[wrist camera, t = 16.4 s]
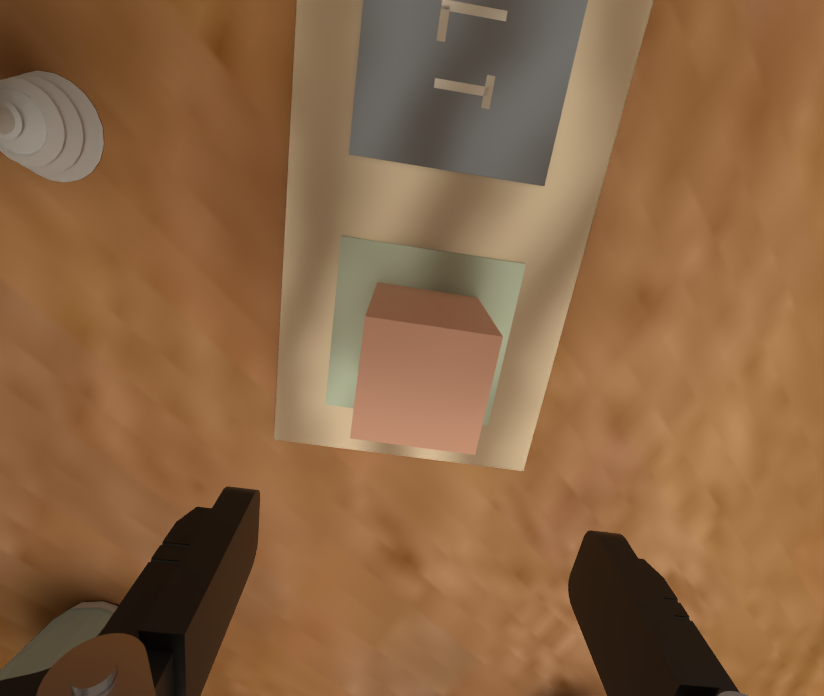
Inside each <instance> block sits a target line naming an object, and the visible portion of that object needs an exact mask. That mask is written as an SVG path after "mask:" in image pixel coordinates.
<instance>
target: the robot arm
mask: <svg viewBox="0 0 824 696" xmlns="http://www.w3.org/2000/svg"><path fill="white" fill-rule="evenodd" d="M259 508H260V492H259V490H253V489H244V488H236V487H225V488H224V490H223V491H222V493H221V494H220V496H219V498H218V499H217V501H216V503H215V504H214V506H213V507H212V508H203V507H196V508H195V509H193V510H192V511H191V512H189V513H188V514H186V515H185V516H184V517H182V518H181V519H180V520H178V521H177V522H176V523H175V525H174V526H173V528H172V529H171V530H170V532H169V533H168V535H167V536H166V538H165V539H164V541H163V544H162V546H161V545H160V546H159V548H158V549H157V551H156V552H155V554H154V555H153V557H152V559H151V562H148V564H147V565H146V567H145V568H144V570H143V571H142V573H141V574H140V576H139V577H138V578H137V580H136V581H135V583H134V584H133V586H132V587H131V589H130V590H129V592H128V593H127V594H126V596H125V597H124V599H123V600H122V602H121V603H120V605H119V606H118V608H117V609H116V611H115V612H114V613H113V615H112V616H111V618H110V619H109V621H108V622H107V624H106V625H105V627H104V628H103V629H102V630H101V632H100V633H99V634H98V635H97V636H96V637H95V638H92V639H89V640H87V641H85V642H83V643H81V644H79V645H78V646H76V647H74V648H73V649H71V650H70V651H69V652H67V653H66V654H65V655H63V656H62V657H61V658H60V659H59V660H58V661H57V662H56V663H55V664H54V665H53V666H52V667H51V668H48V669H45V670H43V671H39V672H36V673H32V674H27V675H23V676H18V677H13V678H9V679H4V680H0V696H200V695H201V693H202V690H203V688H204V685H205V683H206V680H207V678H208V675H209V673H210V670H211V668H212V665H213V663H214V661H215V658H216V656H217V653H218V651H219V648H220V646H221V643H222V641H223V638H224V636H225V633H226V631H227V628H228V626H229V623H230V621H231V618H232V616H233V614H234V611H235V609H236V606H237V604H238V601H239V599H240V596H241V594H242V591H243V589H244V586H245V584H246V581H247V579H248V576H249V574H250V571H251V569H252V566H253V563H254V559H255V555H256V550H257V544H258V528H259ZM568 591H569V599H570V603H571V606H572V609H573V611H574V614H575V616H576V619H577V621H578V624H579V626H580V629H581V631H582V634H583V636H584V639H585V641H586V644H587V646H588V649H589V651H590V654H591V656H592V659H593V661H594V664H595V666H596V669H597V671H598V674H599V676H600V679H601V681H602V684H603V686H604V689H605V691H606V694H607V696H748V695H745V694H743V693H740V692H739V691H738V689H737V688H736V686H735V685H734V683H733V682H732V680H731V679H730V677H729V676H728V674H727V673H726V671H725V670H724V668H723V667H722V665H721V664H720V662H719V661H718V659H717V658H716V656H715V654H714V653H713V651H712V650H711V648H710V647H709V645H708V644H707V642H706V641H705V639H704V638H703V636H702V635H701V633H700V632H699V630H698V629H697V627H696V626H695V624H694V623H693V621H690V620H689V615H688V614H687V612H686V611H685V609H684V608H683V606H682V605H681V603H678V601H677V597H676V596H675V594H674V593H673V591H672V590H671V588H670V587H669V585H668V584H667V582H666V581H665V579H664V578H663V577H662V576H661V575H660V574H659V573H658V572H657V571H656V570H655V569H654V568H653V567H651V566H650V565H649V564H648V563H647V562H646V561H645V560H644V559H638V557H637V556H636V554H635V553H634V551H633V550H632V548H631V546H630V545H629V543H628V542H627V540H626V539H625V537H624V536H623V535H621V534H616V533H608V532H599V531H588V532H587V533H586V534H585V536H584V538H583V541H582V544H581V546H580V549H579V552H578V555H577V557H576V560H575V563H574V566H573V568H572V571H571V574H570V577H569V584H568Z"/></svg>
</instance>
